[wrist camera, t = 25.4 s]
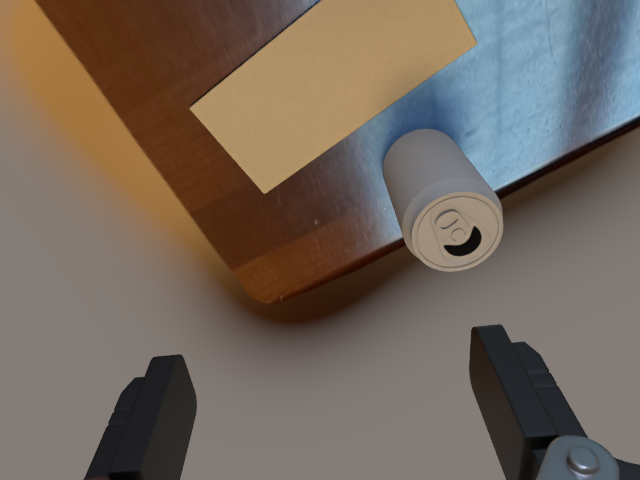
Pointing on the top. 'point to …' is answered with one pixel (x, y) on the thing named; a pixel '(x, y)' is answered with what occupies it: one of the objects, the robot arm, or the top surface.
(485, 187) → the beverage can
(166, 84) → the top surface
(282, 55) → the board
